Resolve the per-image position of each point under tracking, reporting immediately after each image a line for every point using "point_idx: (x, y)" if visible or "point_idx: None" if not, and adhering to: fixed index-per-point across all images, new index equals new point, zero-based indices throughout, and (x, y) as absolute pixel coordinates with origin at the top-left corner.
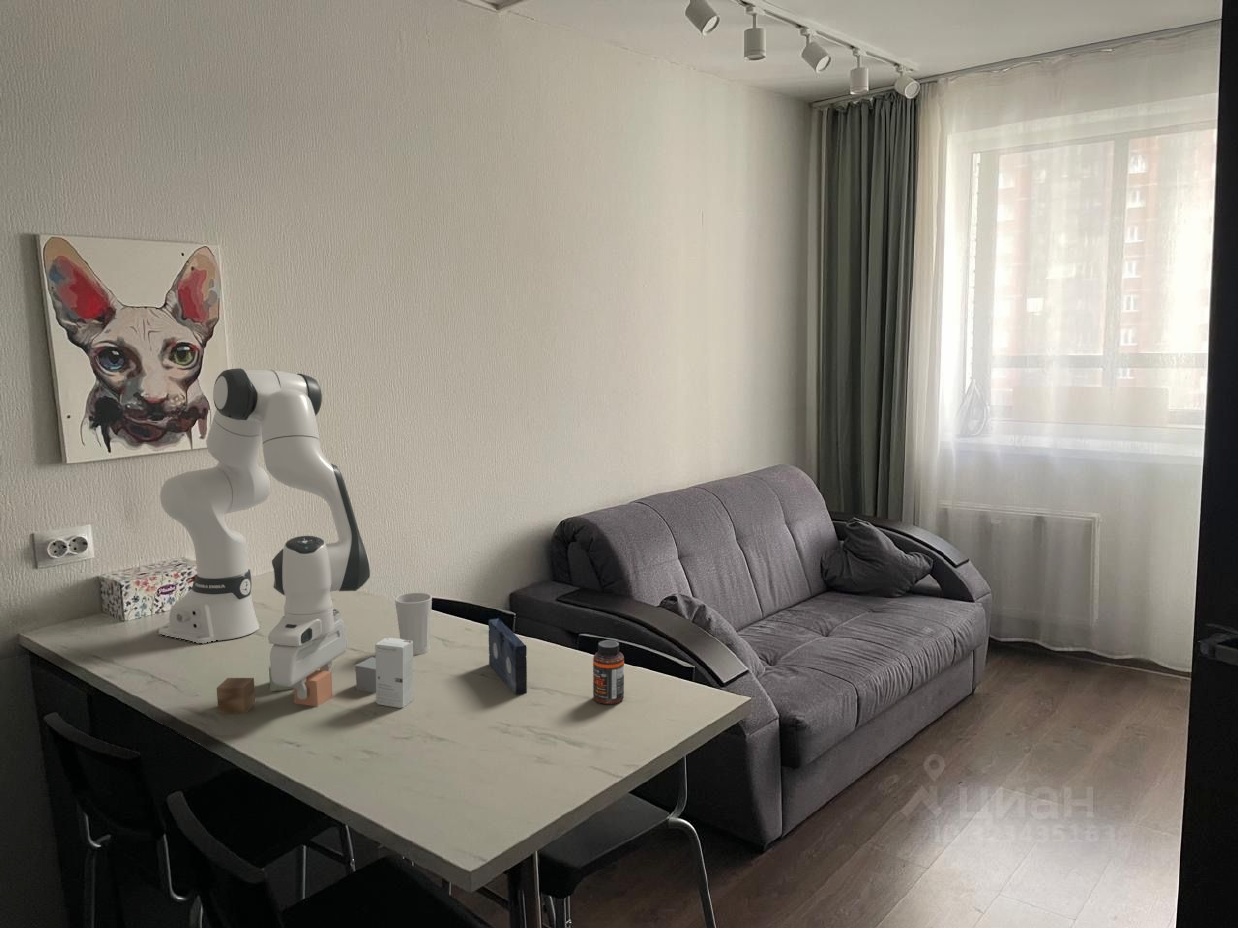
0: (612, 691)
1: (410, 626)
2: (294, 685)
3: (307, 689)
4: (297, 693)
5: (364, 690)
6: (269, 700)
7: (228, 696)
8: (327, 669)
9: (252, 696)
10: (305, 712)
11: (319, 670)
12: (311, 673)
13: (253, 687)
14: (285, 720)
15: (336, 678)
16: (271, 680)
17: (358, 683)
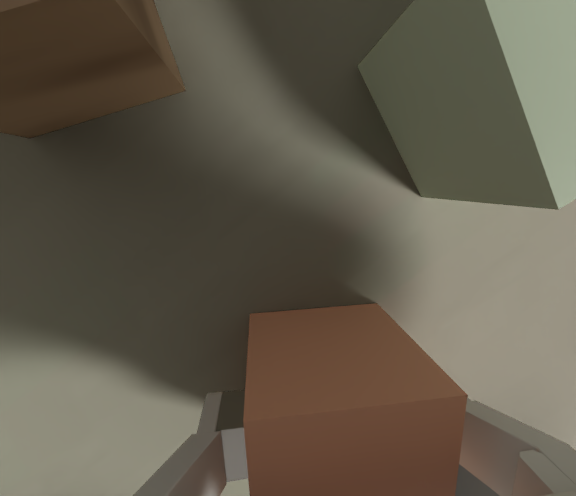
0: None
1: None
2: (153, 480)
3: (232, 476)
4: (202, 412)
5: None
6: (235, 160)
7: None
8: (497, 483)
9: (125, 84)
10: (179, 419)
11: (453, 479)
12: (385, 468)
13: (127, 48)
14: (65, 399)
15: (559, 303)
16: (391, 46)
17: (477, 479)
